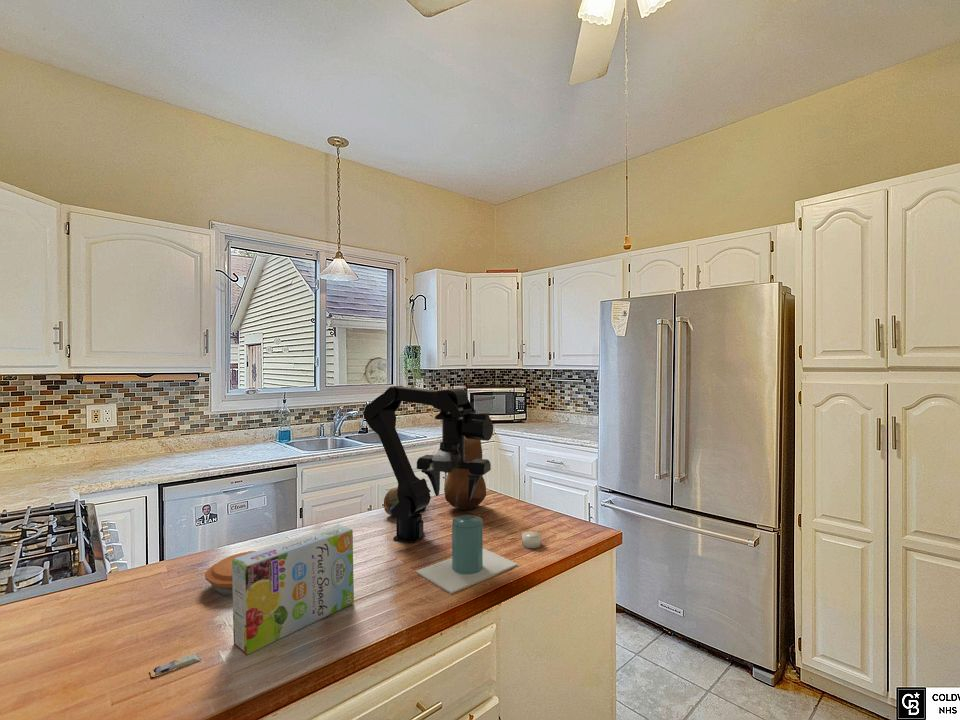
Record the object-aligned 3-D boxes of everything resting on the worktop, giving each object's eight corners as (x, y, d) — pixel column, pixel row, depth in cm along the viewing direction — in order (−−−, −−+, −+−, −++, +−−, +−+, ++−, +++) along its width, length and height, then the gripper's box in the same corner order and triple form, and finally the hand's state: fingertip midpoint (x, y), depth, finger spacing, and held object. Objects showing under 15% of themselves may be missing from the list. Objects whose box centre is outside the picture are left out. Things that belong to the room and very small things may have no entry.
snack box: (338, 595, 97) (338, 522, 97) (354, 604, 93) (354, 529, 93) (231, 644, 80) (231, 556, 80) (246, 657, 77) (246, 566, 77)
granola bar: (197, 656, 78) (197, 650, 78) (201, 663, 76) (201, 656, 76) (148, 674, 73) (148, 668, 73) (150, 682, 71) (150, 675, 71)
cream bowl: (519, 546, 121) (519, 537, 121) (524, 539, 126) (524, 530, 126) (538, 549, 120) (538, 539, 120) (542, 542, 124) (542, 532, 124)
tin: (388, 519, 142) (388, 492, 142) (382, 517, 144) (381, 490, 144) (423, 507, 154) (423, 481, 154) (416, 505, 156) (416, 480, 156)
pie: (206, 609, 91) (206, 584, 91) (203, 578, 104) (203, 556, 104) (290, 588, 100) (290, 565, 100) (277, 561, 113) (277, 541, 113)
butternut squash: (468, 499, 162) (468, 427, 162) (494, 509, 151) (494, 432, 151) (435, 507, 153) (435, 431, 153) (460, 518, 142) (460, 436, 142)
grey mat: (451, 594, 97) (451, 592, 97) (415, 572, 107) (415, 570, 107) (517, 565, 110) (517, 563, 110) (481, 548, 120) (481, 547, 120)
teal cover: (447, 564, 110) (447, 518, 110) (473, 558, 113) (473, 513, 113) (461, 576, 104) (461, 527, 104) (488, 569, 107) (488, 522, 107)
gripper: (406, 440, 116) (406, 502, 116) (476, 445, 110) (476, 511, 110) (426, 433, 127) (426, 490, 127) (491, 437, 120) (491, 498, 120)
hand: (453, 497), depth 121 cm, fingers open, 9 cm apart
